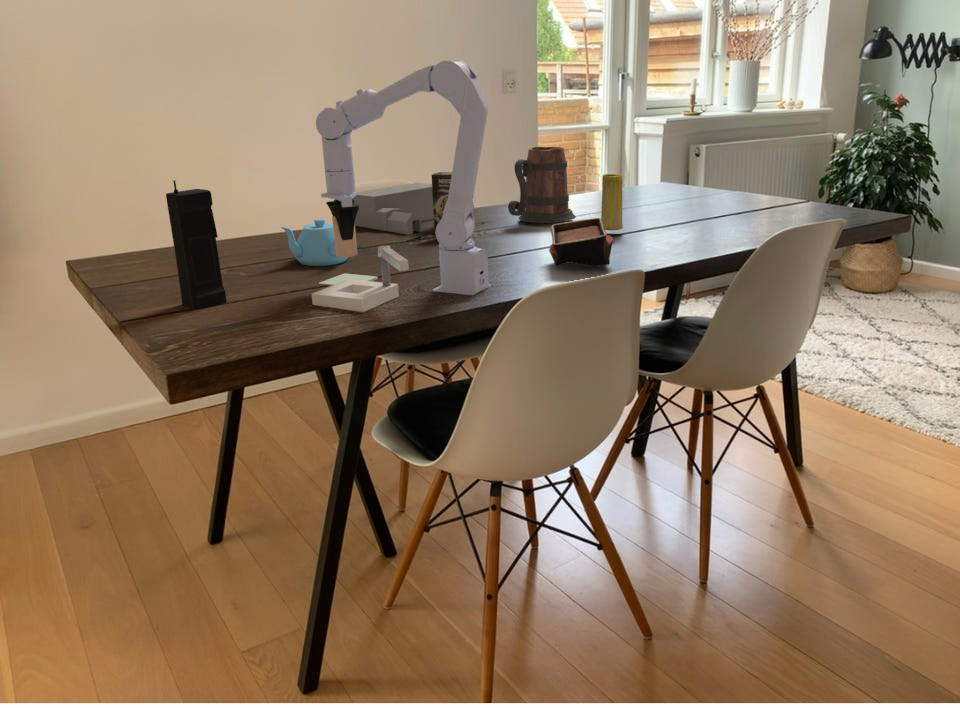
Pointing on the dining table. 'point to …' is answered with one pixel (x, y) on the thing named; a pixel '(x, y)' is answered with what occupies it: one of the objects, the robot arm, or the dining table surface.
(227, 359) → the dining table surface
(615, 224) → the vase
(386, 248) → the grey long bar
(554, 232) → the rectangular planter pot
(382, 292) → the socket block
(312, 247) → the teapot
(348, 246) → the plug
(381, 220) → the grey stepped box
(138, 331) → the dining table surface
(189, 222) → the portable radio
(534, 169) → the tankard
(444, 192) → the coffee box
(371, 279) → the mat
